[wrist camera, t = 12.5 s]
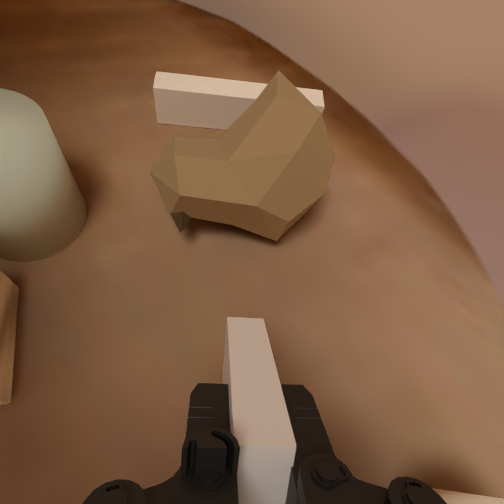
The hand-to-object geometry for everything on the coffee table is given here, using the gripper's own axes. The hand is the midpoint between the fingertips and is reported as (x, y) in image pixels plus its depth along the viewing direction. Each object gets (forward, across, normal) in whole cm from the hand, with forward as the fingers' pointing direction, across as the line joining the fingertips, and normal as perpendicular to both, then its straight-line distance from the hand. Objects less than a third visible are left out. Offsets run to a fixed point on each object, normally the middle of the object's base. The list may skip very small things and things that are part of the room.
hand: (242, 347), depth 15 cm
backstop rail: (+26, 0, +10) cm, 28 cm away
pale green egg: (+17, -16, +1) cm, 23 cm away
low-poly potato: (+19, +1, +3) cm, 19 cm away
